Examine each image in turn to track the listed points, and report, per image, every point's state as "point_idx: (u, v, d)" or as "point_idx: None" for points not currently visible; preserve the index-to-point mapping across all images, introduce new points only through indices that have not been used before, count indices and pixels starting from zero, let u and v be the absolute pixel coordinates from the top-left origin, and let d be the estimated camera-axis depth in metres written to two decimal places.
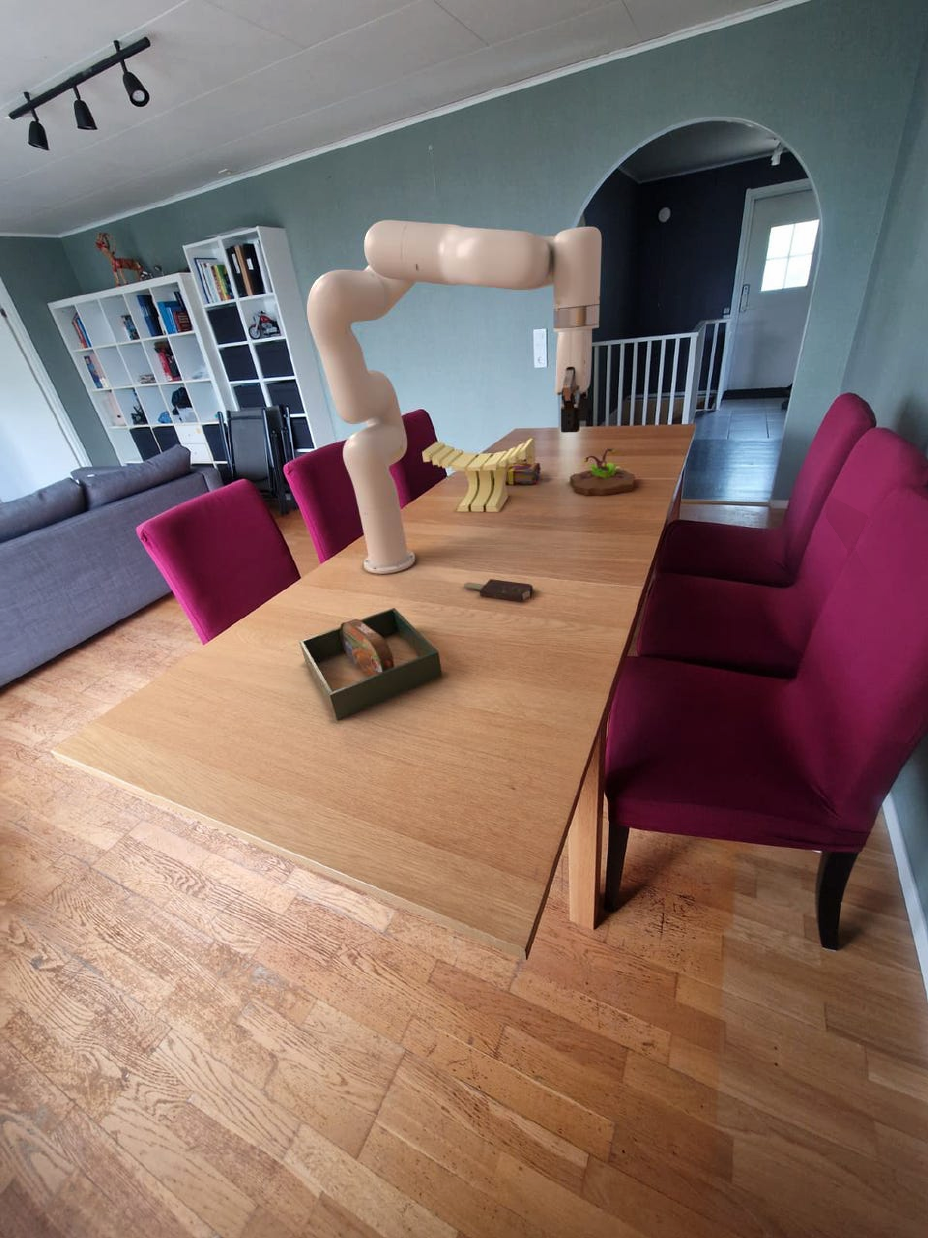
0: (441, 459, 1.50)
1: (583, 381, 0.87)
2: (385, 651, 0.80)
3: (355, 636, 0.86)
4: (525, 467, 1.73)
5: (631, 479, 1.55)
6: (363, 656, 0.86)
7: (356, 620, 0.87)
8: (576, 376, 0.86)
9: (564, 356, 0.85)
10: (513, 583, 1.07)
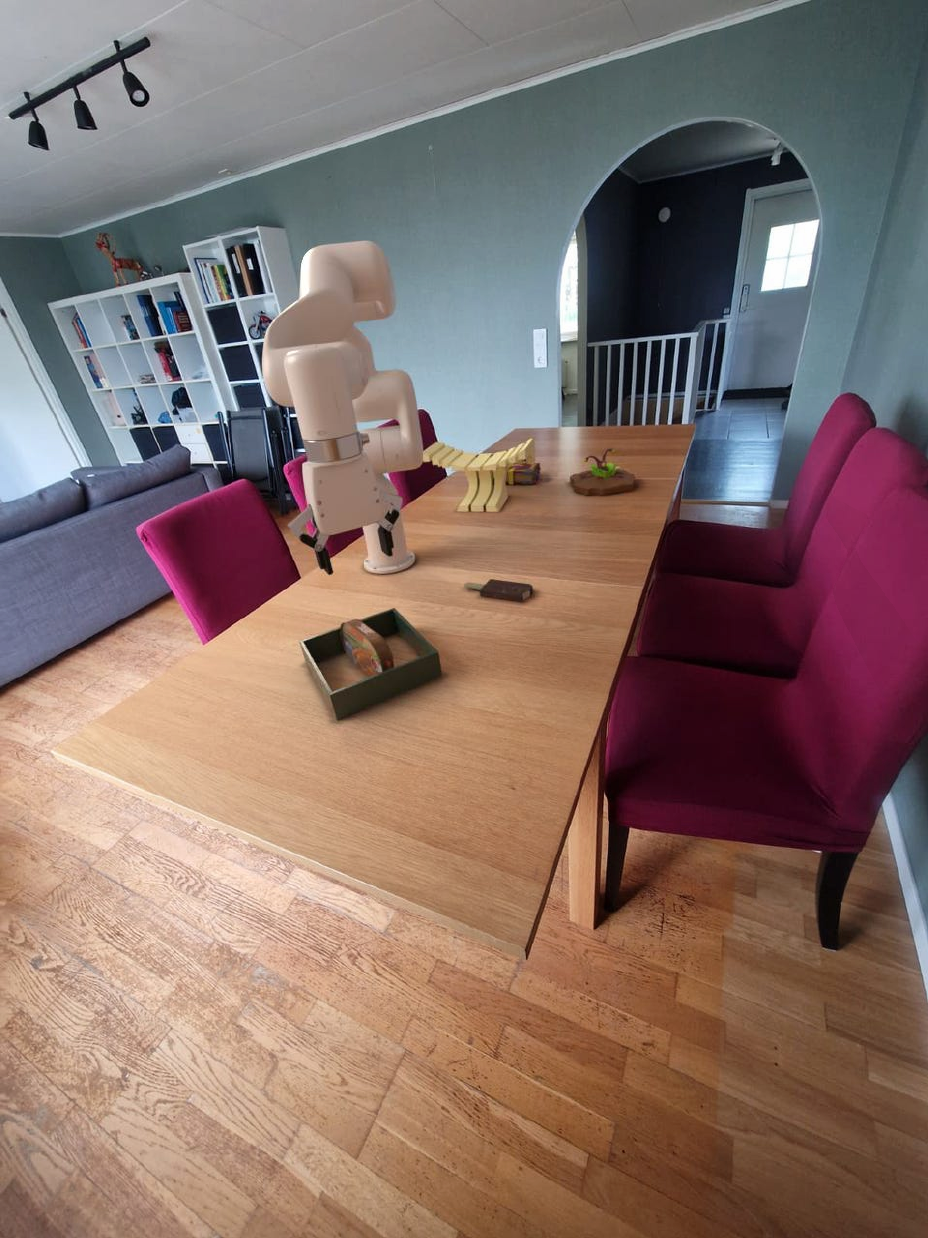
0: (441, 459, 1.50)
1: (323, 523, 0.71)
2: (385, 651, 0.80)
3: (355, 636, 0.86)
4: (525, 467, 1.73)
5: (631, 479, 1.55)
6: (363, 656, 0.86)
7: (356, 620, 0.87)
8: (314, 516, 0.72)
9: (305, 491, 0.72)
10: (513, 583, 1.07)
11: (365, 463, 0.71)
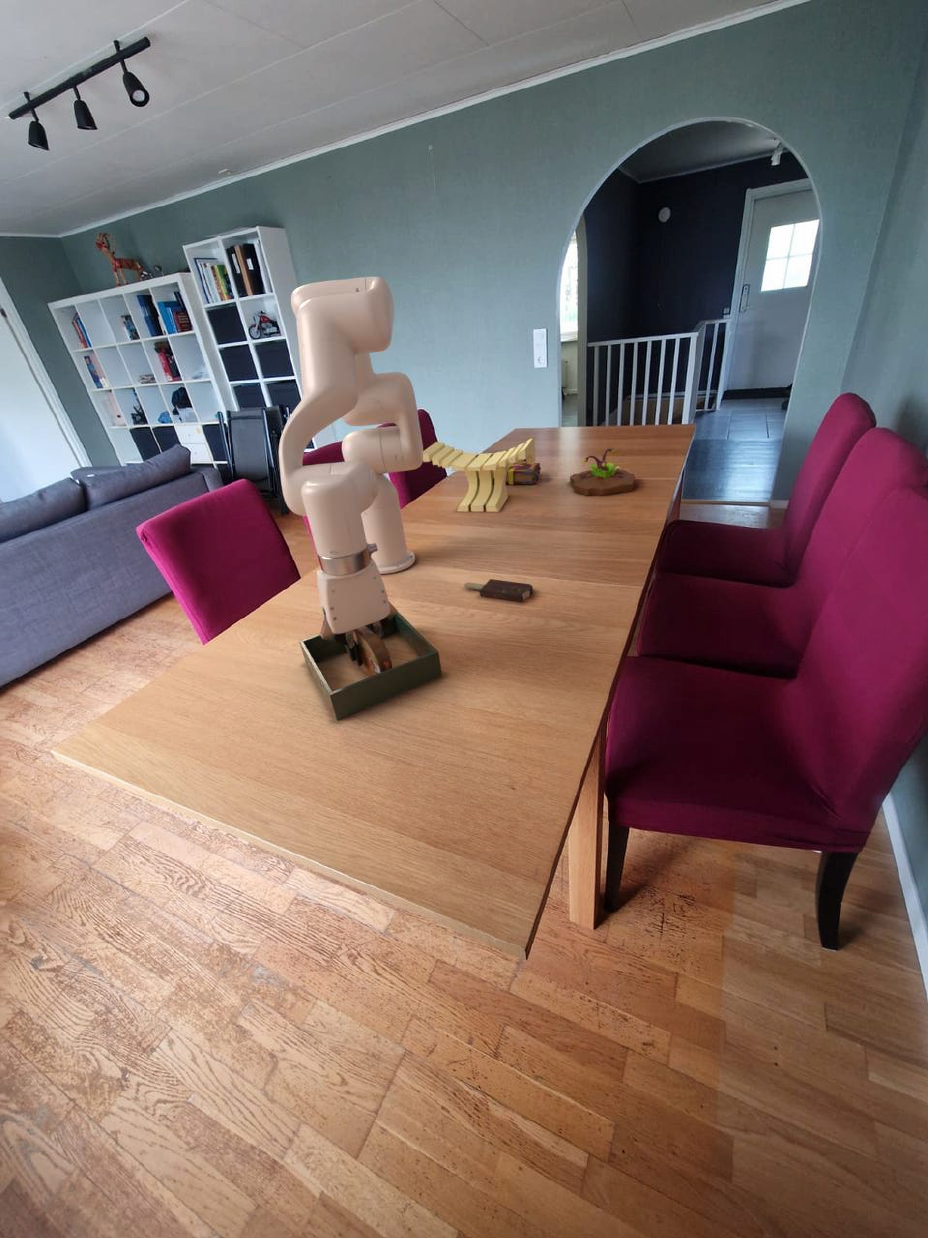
0: (441, 459, 1.50)
1: (335, 625, 0.79)
2: (383, 652, 0.80)
3: (355, 636, 0.86)
4: (525, 467, 1.73)
5: (631, 479, 1.55)
6: (363, 656, 0.86)
7: None
8: (327, 618, 0.79)
9: (319, 595, 0.79)
10: (513, 583, 1.07)
11: (374, 571, 0.78)
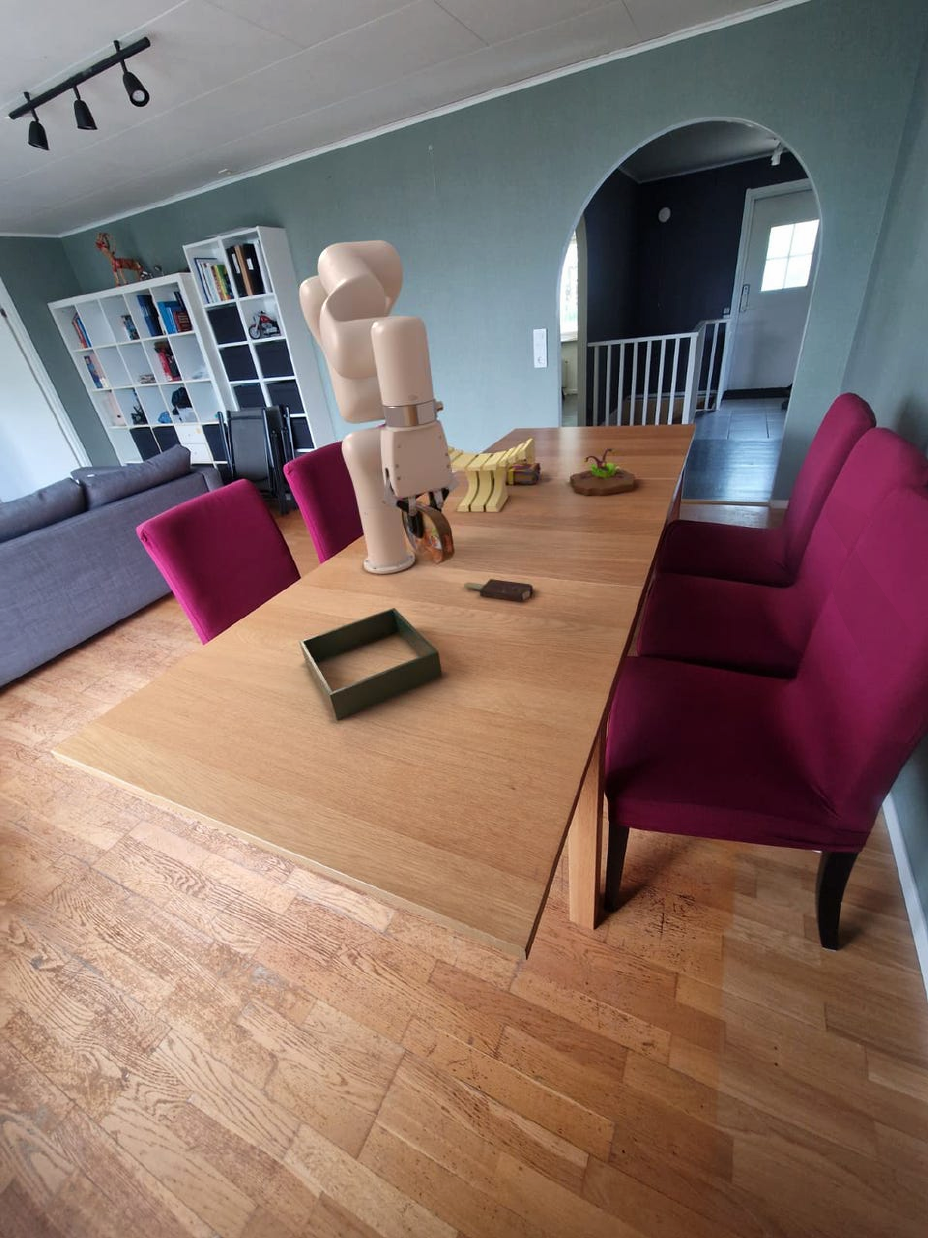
0: None
1: (399, 486, 0.76)
2: (444, 525, 0.78)
3: None
4: (525, 467, 1.73)
5: (631, 479, 1.55)
6: (423, 537, 0.84)
7: (416, 501, 0.85)
8: (390, 479, 0.76)
9: (382, 455, 0.76)
10: (513, 583, 1.07)
11: (439, 429, 0.75)
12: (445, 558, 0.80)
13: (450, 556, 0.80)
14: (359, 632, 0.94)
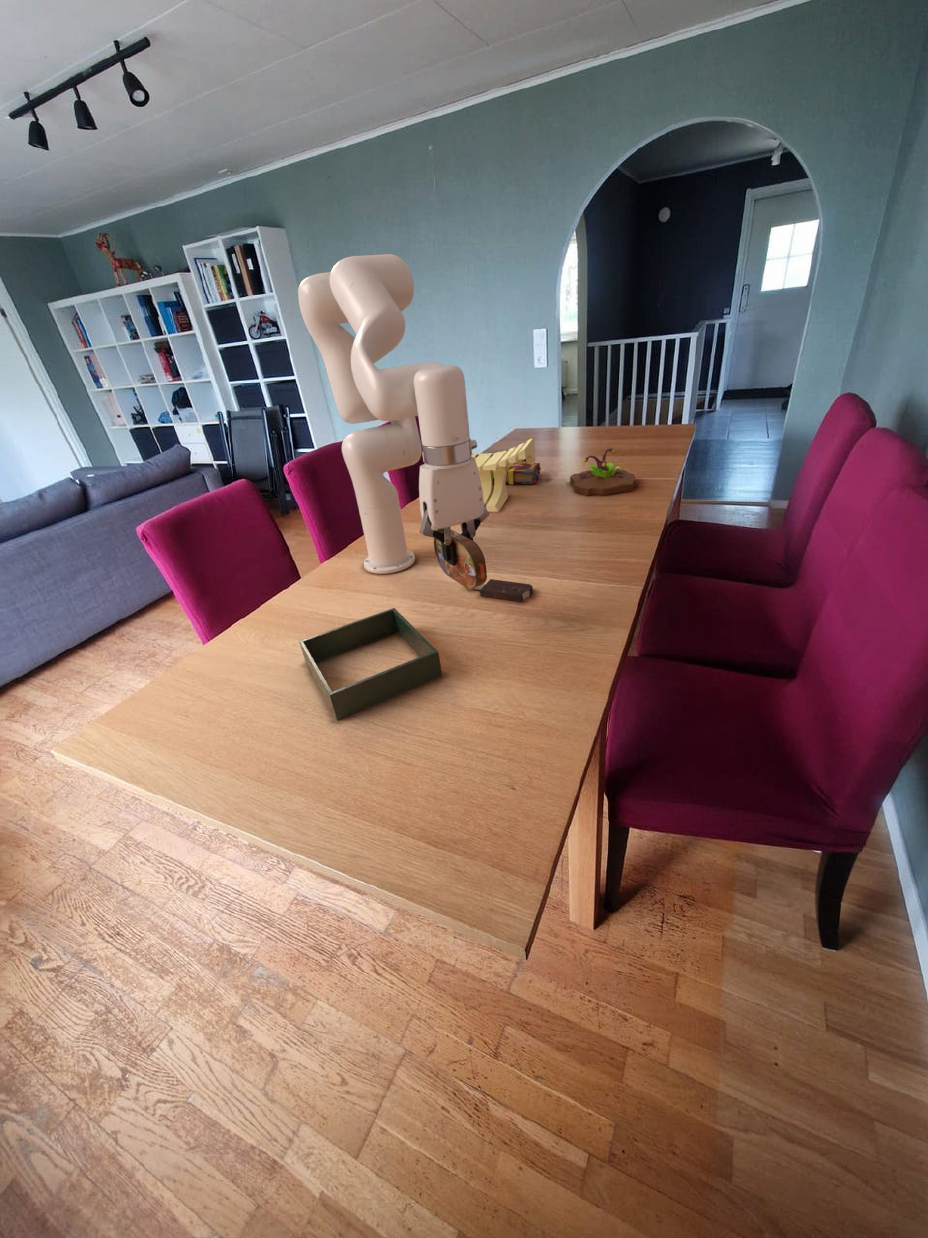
0: None
1: (436, 518, 0.82)
2: (478, 554, 0.83)
3: None
4: (525, 467, 1.73)
5: (631, 479, 1.55)
6: None
7: None
8: (428, 512, 0.82)
9: (420, 490, 0.82)
10: (513, 583, 1.07)
11: (474, 466, 0.81)
12: (478, 584, 0.86)
13: (483, 582, 0.86)
14: (359, 632, 0.94)
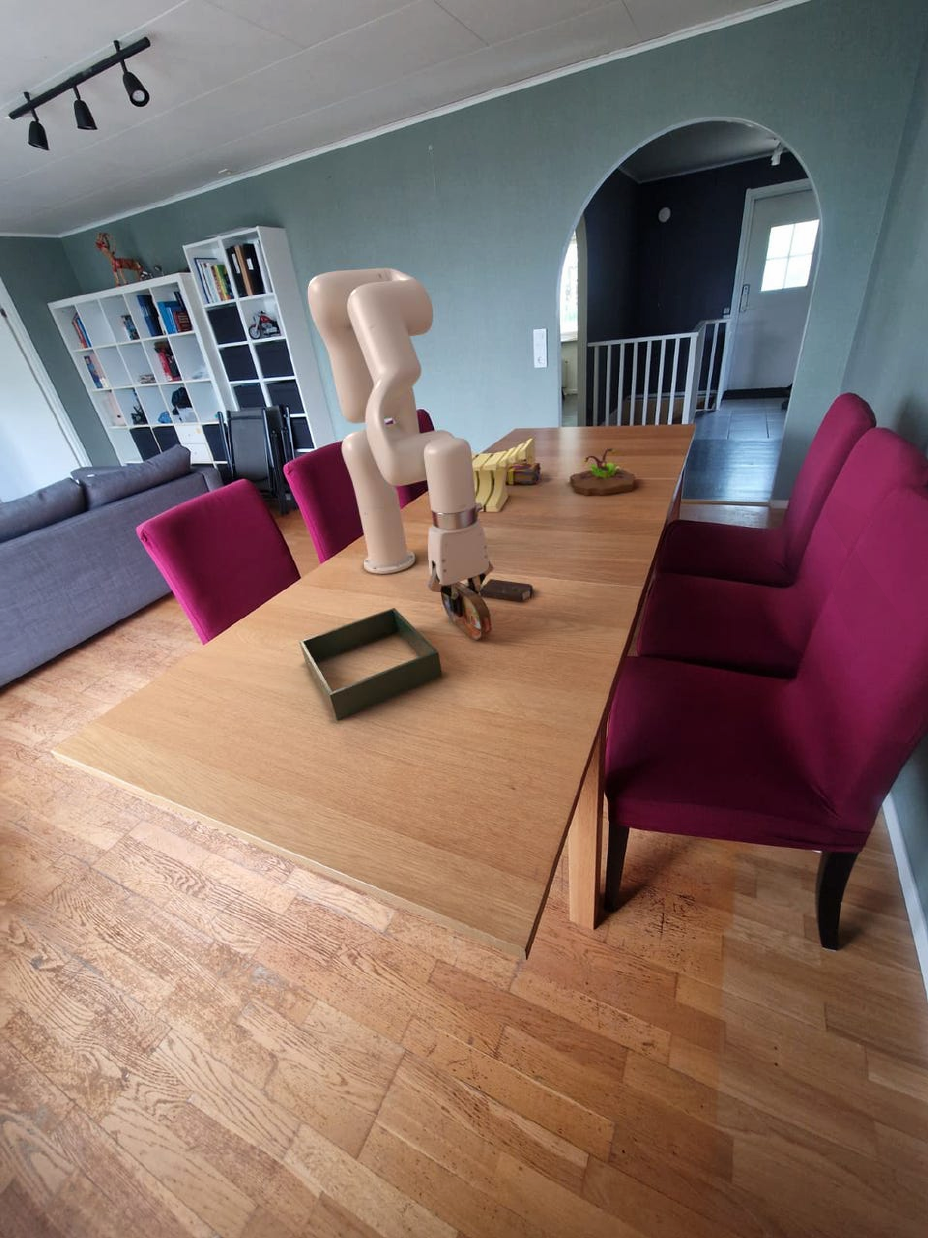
0: None
1: (444, 576, 0.87)
2: (483, 609, 0.88)
3: None
4: (525, 467, 1.73)
5: (631, 479, 1.55)
6: None
7: None
8: (436, 571, 0.87)
9: (429, 550, 0.87)
10: (513, 583, 1.07)
11: (479, 528, 0.87)
12: (483, 636, 0.91)
13: (487, 634, 0.91)
14: (359, 632, 0.94)
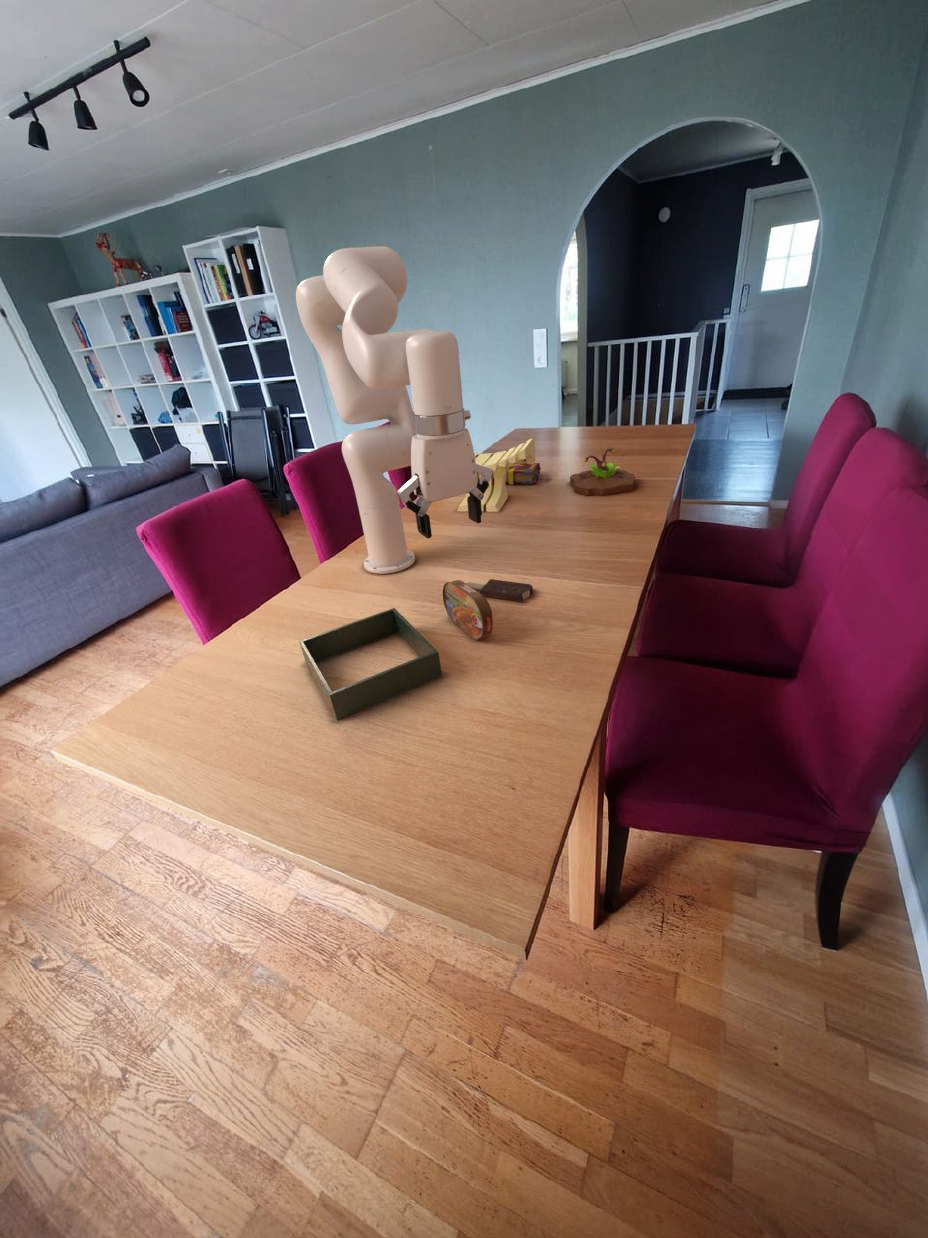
0: None
1: (428, 491, 0.80)
2: (486, 608, 0.89)
3: (458, 595, 0.95)
4: (525, 467, 1.73)
5: (631, 479, 1.55)
6: (463, 613, 0.95)
7: (459, 581, 0.96)
8: (420, 484, 0.80)
9: (412, 462, 0.80)
10: (513, 583, 1.07)
11: (467, 437, 0.80)
12: (484, 636, 0.91)
13: (488, 634, 0.91)
14: (359, 632, 0.94)
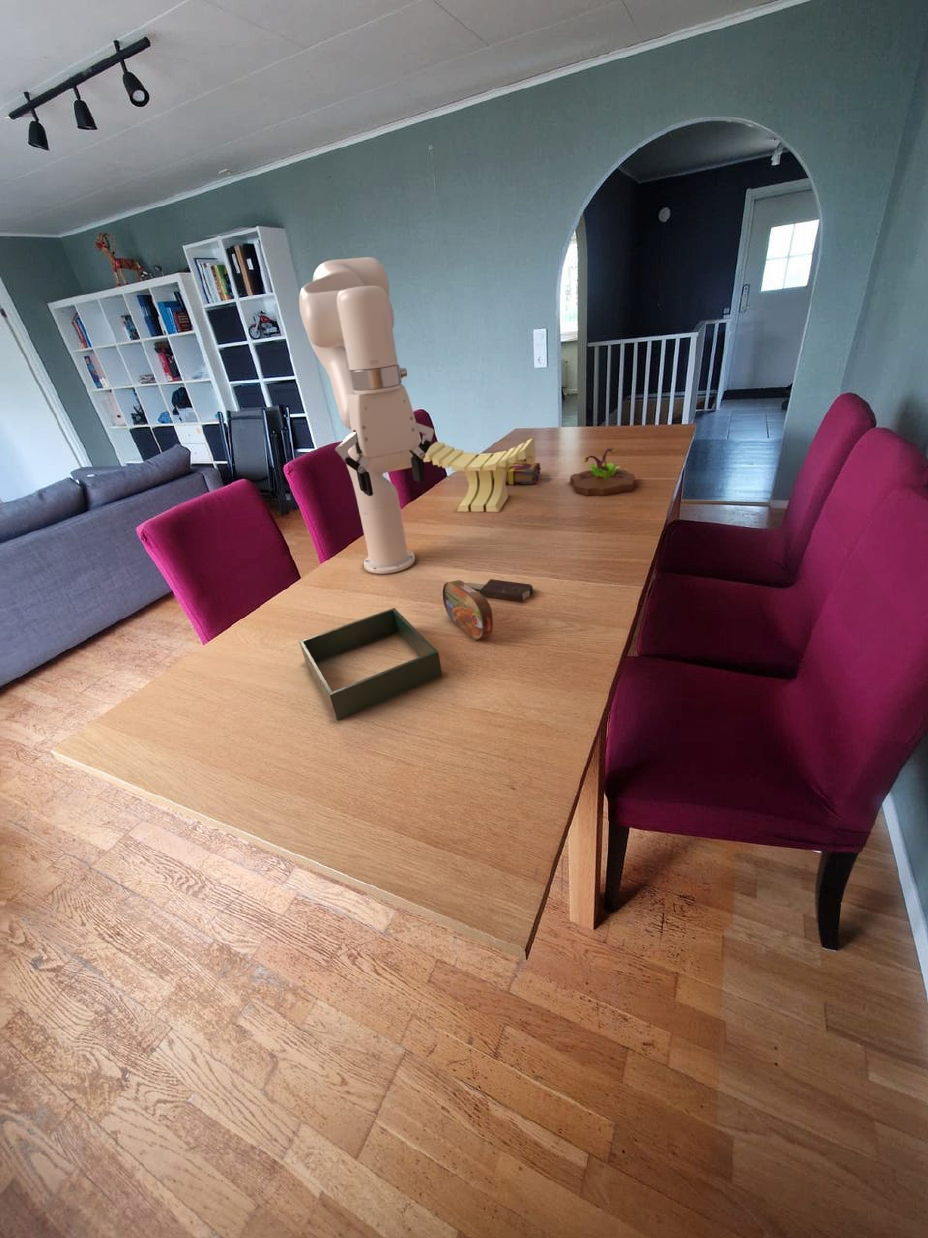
0: (441, 459, 1.50)
1: (366, 446, 0.82)
2: (486, 608, 0.89)
3: (458, 595, 0.95)
4: (525, 467, 1.73)
5: (631, 479, 1.55)
6: (463, 613, 0.95)
7: (459, 581, 0.96)
8: (358, 440, 0.82)
9: (350, 418, 0.82)
10: (513, 583, 1.07)
11: (403, 394, 0.81)
12: (484, 636, 0.91)
13: (488, 634, 0.91)
14: (359, 632, 0.94)
